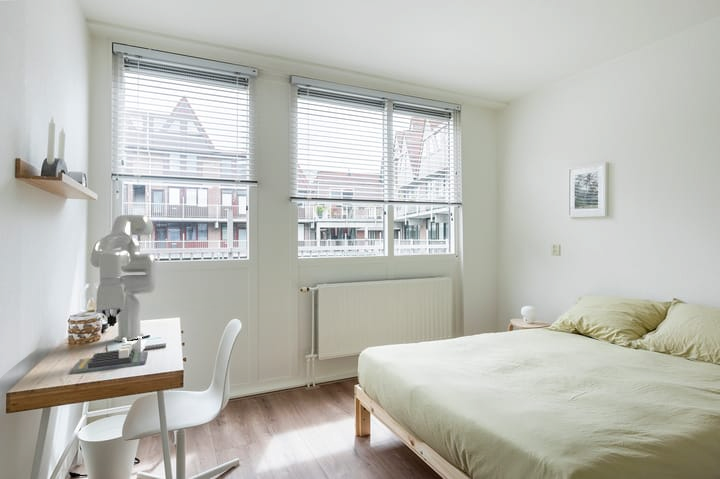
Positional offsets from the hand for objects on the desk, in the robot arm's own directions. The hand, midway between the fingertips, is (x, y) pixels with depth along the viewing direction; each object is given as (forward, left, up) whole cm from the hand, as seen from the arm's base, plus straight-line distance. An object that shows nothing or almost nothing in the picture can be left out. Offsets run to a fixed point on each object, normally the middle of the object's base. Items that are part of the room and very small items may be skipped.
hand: (112, 325), depth 163 cm
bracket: (-8, +7, -14) cm, 18 cm away
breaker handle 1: (+2, +5, -12) cm, 14 cm away
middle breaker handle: (+7, +5, -13) cm, 15 cm away
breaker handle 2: (+12, +5, -12) cm, 18 cm away
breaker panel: (+7, +1, -14) cm, 15 cm away
